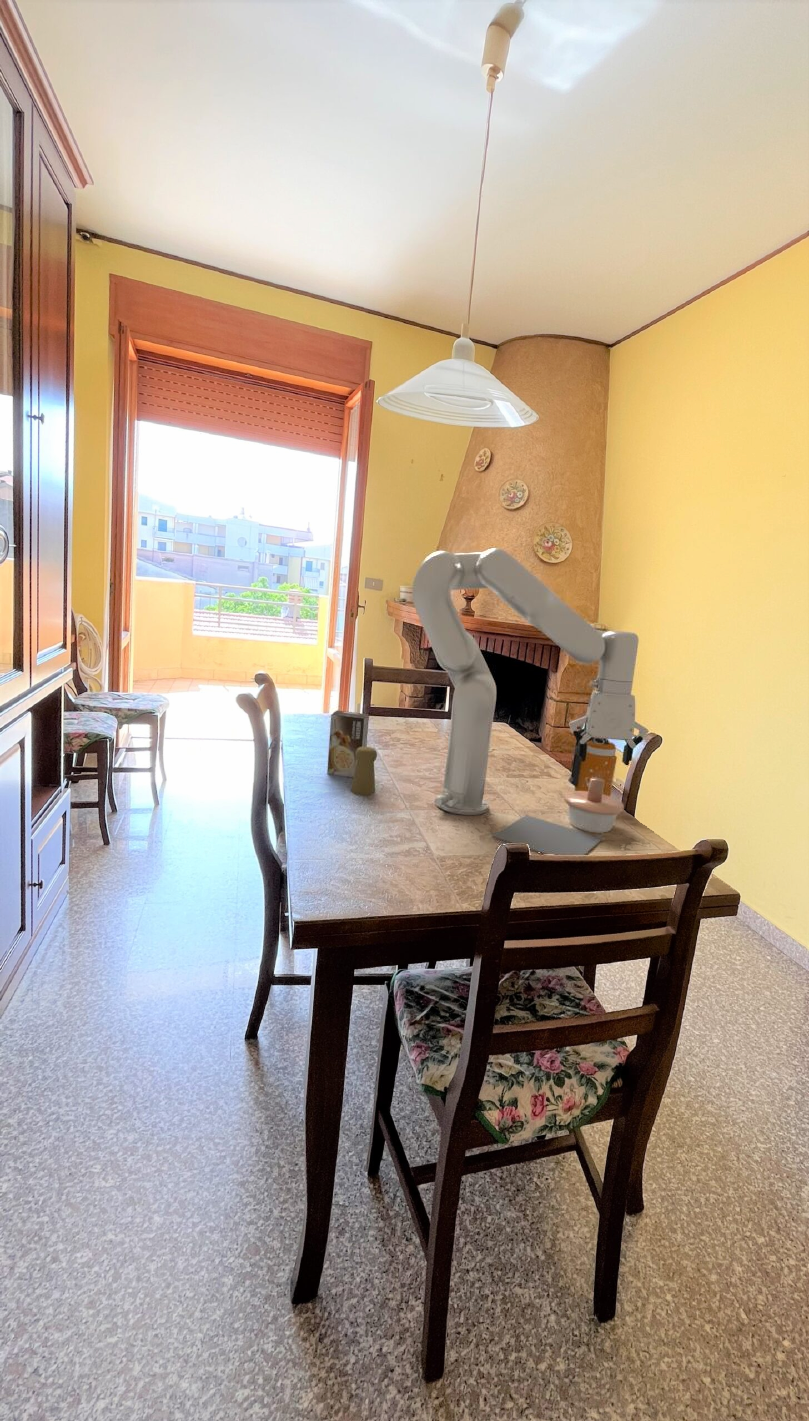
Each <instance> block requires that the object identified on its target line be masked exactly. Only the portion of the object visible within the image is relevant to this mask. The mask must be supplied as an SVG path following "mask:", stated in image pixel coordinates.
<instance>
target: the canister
mask: <svg viewBox="0 0 809 1421" xmlns="http://www.w3.org/2000/svg"><path fill="white" fill-rule="evenodd" d="M584 731H585V730H584V728H581V729H580V730H579V729H578V732H579V733H580V735H581V734H582V733H583V732H584ZM575 741H576V743H575V745H574V754H573V755H574V756H573V762H572V767H571V773H570V774H571V775H570V777H569V778H568V780H567V781H568V782H569V784H571V785H572V786H574V791H588V789H589V783H590V778H591V777H597V778H601V779H604V780H605V782H604V788H603V794H604V795H608V796H611V795H612V788H613V782H614V777H615V771H616V765H617V760H618V757H617V756H616V750H617V747H616V744H615V743H613V742H611V741H609V739H604V738H595V737H591V738H590V739H589V740H588V741H586V744H587V752H586V759H585V761H581V760H580V757H579V756H578V746H579V741H578V739H577V738H576V737H575Z"/></svg>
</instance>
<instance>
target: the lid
mask: <svg viewBox="0 0 809 1421" xmlns="http://www.w3.org/2000/svg"><path fill="white" fill-rule="evenodd" d="M604 782H605V780H604V779H601V778H597V777H591V778H590V783H589V789H588V791H575V790H572V791H569V792H566V793H565V795H564V802H565V804H567V805H570V806H572V807H574V808H576V809H579V810H582V811H586V812H590V813H595V814H603V815H614V814H618V815H619V814H621V813H623V811H624V807H625V806H624V805H625V804H624V803H623V802H622V801H621V800H619V799H617V798H615V797H613V796H611V795H610V796H608V795H604V794H603V788H604Z"/></svg>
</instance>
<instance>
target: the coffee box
mask: <svg viewBox="0 0 809 1421" xmlns="http://www.w3.org/2000/svg"><path fill="white" fill-rule="evenodd" d="M369 718H370V714H368V713H359V712H353V711H347V710H345V711H344V710H335V711H334V712H333V713H331V715H330V723H329V724H330V726H329V727H330V728H329V741H328V753H327V754H328V756H327V759H328V760H327V773H326V774H327V775H332V774H334V775H335V776H339V775H342V776H341V777H347V776H349V777H348V778H353V777H354V772H355V768H356V763H357V759H356V756H355V753H356V750H357V749H358V748H359V747H368V746H367V745H368V735H369V734H368V732H369V721H370V720H369ZM334 775H333V776H334Z"/></svg>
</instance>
